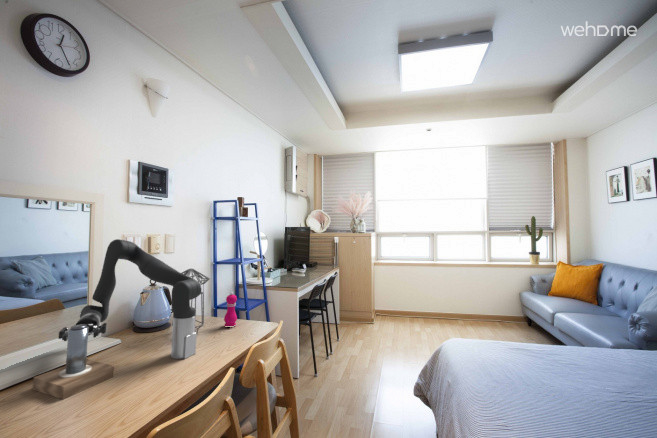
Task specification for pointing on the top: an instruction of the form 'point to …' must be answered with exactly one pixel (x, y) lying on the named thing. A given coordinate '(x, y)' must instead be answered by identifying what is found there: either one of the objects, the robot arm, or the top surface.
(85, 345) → the cylinder
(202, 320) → the geometric lantern
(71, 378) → the stand
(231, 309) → the pepper mill
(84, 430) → the top surface
